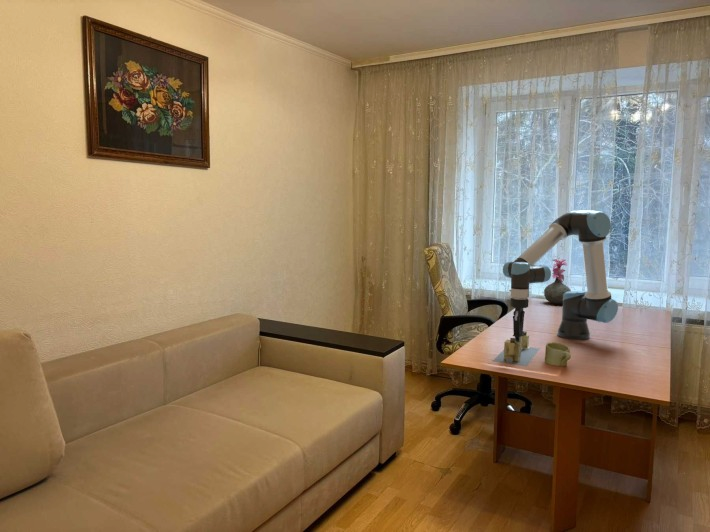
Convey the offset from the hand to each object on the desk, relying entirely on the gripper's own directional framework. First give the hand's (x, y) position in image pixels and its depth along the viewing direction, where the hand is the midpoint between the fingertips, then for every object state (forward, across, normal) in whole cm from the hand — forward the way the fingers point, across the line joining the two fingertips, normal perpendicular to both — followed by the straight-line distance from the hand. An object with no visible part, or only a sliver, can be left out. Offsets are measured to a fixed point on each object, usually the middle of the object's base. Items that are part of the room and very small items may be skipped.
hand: (517, 350), depth 230 cm
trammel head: (+2, +9, 0) cm, 9 cm away
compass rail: (+3, -1, 0) cm, 3 cm away
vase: (+4, -137, -3) cm, 137 cm away
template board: (+3, -1, 0) cm, 3 cm away
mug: (+3, +4, +18) cm, 18 cm away
